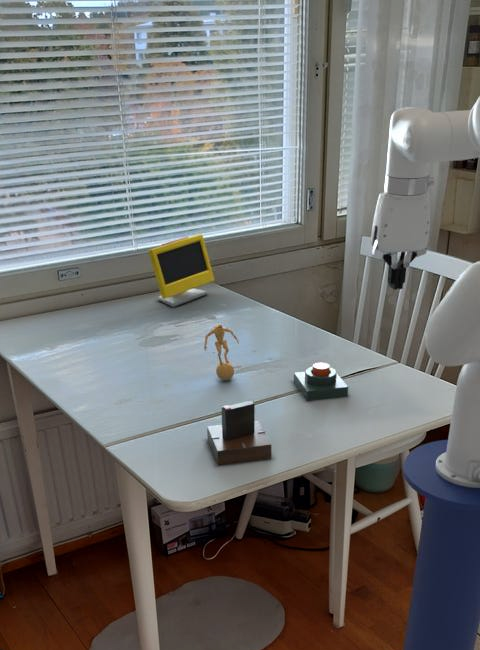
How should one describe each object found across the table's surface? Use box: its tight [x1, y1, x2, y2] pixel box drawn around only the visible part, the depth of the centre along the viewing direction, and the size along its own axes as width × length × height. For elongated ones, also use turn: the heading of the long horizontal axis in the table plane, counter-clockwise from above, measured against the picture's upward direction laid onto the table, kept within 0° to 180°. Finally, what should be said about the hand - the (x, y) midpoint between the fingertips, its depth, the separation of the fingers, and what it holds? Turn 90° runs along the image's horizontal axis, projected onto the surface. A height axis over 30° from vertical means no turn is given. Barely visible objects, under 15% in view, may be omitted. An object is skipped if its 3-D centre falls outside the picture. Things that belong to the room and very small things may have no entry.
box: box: [293, 365, 349, 402], centre depth 167 cm, size 10×9×4 cm
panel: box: [206, 420, 272, 466], centre depth 146 cm, size 10×10×3 cm
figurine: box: [203, 324, 240, 381], centre depth 171 cm, size 8×6×12 cm
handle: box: [221, 400, 256, 440], centre depth 143 cm, size 6×2×6 cm, turn 118°
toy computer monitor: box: [148, 233, 215, 308], centre depth 215 cm, size 20×8×16 cm, turn 140°
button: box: [312, 362, 331, 376], centre depth 166 cm, size 4×4×2 cm
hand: (395, 287), depth 152 cm, fingers closed
